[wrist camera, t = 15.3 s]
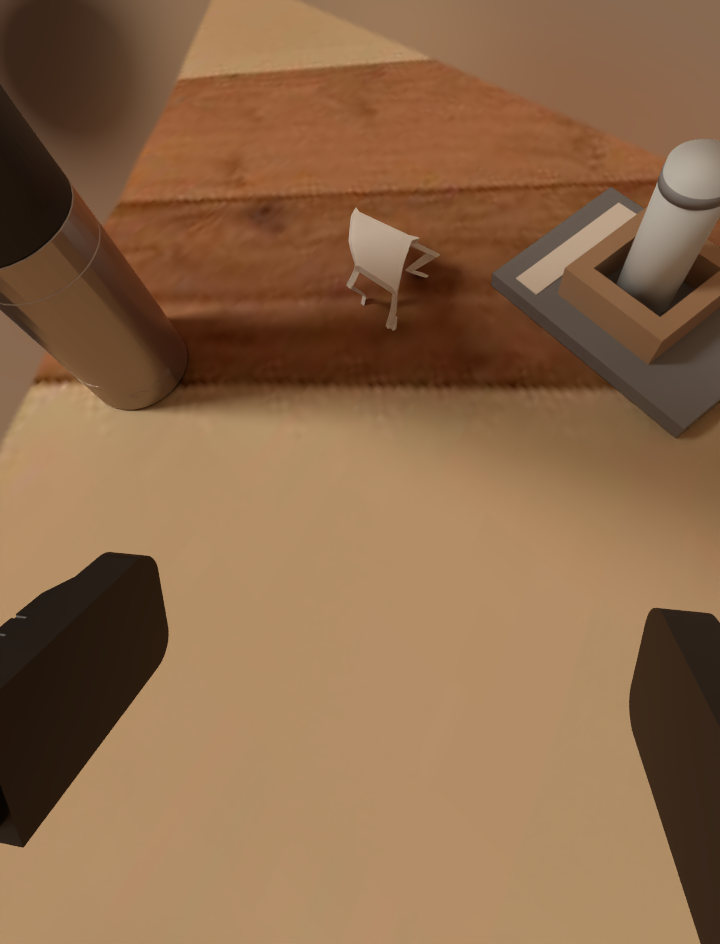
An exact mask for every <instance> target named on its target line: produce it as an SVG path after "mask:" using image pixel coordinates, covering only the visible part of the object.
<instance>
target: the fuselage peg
mask: <svg viewBox="0 0 720 944" xmlns="http://www.w3.org/2000/svg"><path fill="white" fill-rule="evenodd" d="M719 217H720V141H718V140H712V139H697V140H691V141H688V142H685V143H683V144H681V145H679V146H677V147H676V148H675V149H673V150H672V151H671V153H670V154H669V156H668V158H667V160H666V162H665V164H664V166H663V168H662V171H661V173H660V176H659V178H658V183H657V185H656V188H655V190H654V192H653V195H652V197H651V200H650V202H649V205H648V207H647V210H646V212H645V215H644V217H643V220H642V222H641V224H640V227H639V229H638V232H637V234H636V237H635V239H634V242H633V244H632V247H631V249H630V251H629V254H628V256H627V259H626V261H625V264H624V266H623V269H622V271H621V274H620V276H619V279H618V281H617V283H616V285H617V286H619V287H620V288H621V289H623V290H624V291H625V292H627V293H628V294H629V295H631V296H632V297H634V298H635V299H636V300H638V301H639V302H640V303H642V304H643V305H644V306H646V307H647V308H649V309H650V310H651V311H653V312H654V313H655V314H657V315H658V316H659V315H661V314H662V313H664V312H665V311H666V310H667V309H668V307H669V306H670V304H671V302H672V301H673V299H674V297H675V295H676V293H677V292H678V290H679V288H680V286H681V285H682V283H683V281H684V279H685V277H686V276H687V274H688V272H689V270H690V269H691V267H692V265H693V263H694V261H695V260H696V258H697V256H698V254H699V253H700V251H701V249H702V247H703V245H704V244H705V242H706V240H707V238H708V237H709V235H710V233H711V231H712V230H713V228H714V226H715V224H716V222H717V221H718V219H719Z"/></svg>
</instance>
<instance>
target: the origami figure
mask: <svg viewBox="0 0 720 944" xmlns="http://www.w3.org/2000/svg"><path fill="white" fill-rule="evenodd" d="M418 240H419V238H418V237H414V236H410V235H407V234H405V233H403V232H401V231H399V230H397V229H395V228H392V227H390V226H388V225H386V224H384V223H382V222H380V221H377V220H375V219H373V218H371V217H369V216H367V215H365V214H362V213H360V212H359V211H358V210H357V208H355V210H354V212H353V213H352V215H351V221H350V230H349V245H350V249H351V253H352V256H353V260H354V263H355V268H354V271H353V273H352V275H351V277H350V279H349V281H348V283H347V285H346V286H348V287H349V288H350V289H352V290H353V291H355V292H357V293H359V294H360V295H362V301H361V304H362V305H363V306H364V305H365V300H366V295H365V294H364V293H363V292H361V291H360V290H358V289H357V288H355V287H354V286H353V284H354V282H355V280H356V278H357V277H358V275H359V273H362V274H363V275H365V276H366V277H368V278H369V279H371V280H372V281H374V282H375V283H377V284H379V285H380V286H382V287H383V288H385V289H386V290H388V291H389V292H391V293H392V294H393V295H392V302H391V308H390V312H389V316H388V319H387V322H386V327H387V328H388V329H389V328H391V330H392V331H394V330H396V327H397V317H396V316H395V315H396V310H397V297H398V290H399V285H400V280H401V274H402V269H403V265H404V261H405V258H406V255H407V253H408V250H409V247H411V248H414V249H417V250H419V251H422V252H425V253H426V254H424V255H423V256H422V257H420V258H419V259H418V260H417V261H415V262H414V263H413V264H411V265H410V266H409V267H408V268H406V270H405V271H408V272H410V273H412V274H415V275H418V276H422V277H425V278H427V277H428V276H429V275H427V274H424V273H422V272H419V271H415V270H416V269H418V268H420V267H421V266H423V265H425V264H426V263H428V262H430V261H431V260H433V259H434V258H436V257H438V256H439V255H441V254H439V253H437V252H435V251H433V250H431V249H428V248H426V247H424V246H422V245H420V244H418V243H417V242H418Z"/></svg>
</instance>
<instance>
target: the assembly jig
mask: <svg viewBox="0 0 720 944" xmlns="http://www.w3.org/2000/svg"><path fill="white" fill-rule="evenodd" d="M647 207H648V206H647ZM647 207H646V208H645V209H644V208H642V207H641V206H639V205H638V204H636V203H635V202H633V201H632V200H630V199H628V198H627V197H625V196H624V195H622V194H621V193H619V192H618V191H616V190H615V189H613V188H612V187H610V188H609V189H607V190H606V191H605V192H603V193H602V194H601V195H599V196H598V197H596V198H595V199H594V200H592V201H591V202H590V203H588V204H587V205H586V206H584V207H583V208H581V209H580V210H579V211H577V212H576V213H575V214H573V215H572V216H570V217H569V218H568V219H566V220H565V221H564V222H562V223H561V224H559V225H558V226H557V227H555V228H554V229H553V230H551V231H550V232H549V233H547V234H546V235H544V236H543V237H542V238H540V239H539V240H538V241H536V242H535V243H533V244H532V245H531V246H529V247H528V248H527V249H525V250H524V251H522V252H521V253H520V254H518V255H517V256H516V257H514V258H513V259H512V260H510V261H509V262H507V263H506V264H505V265H503V266H502V267H501V268H499V269H498V270H496V271H495V272H494V273H493V274H492V283H491V286H493V287H494V288H495V289H496V290H497V291H499V292H500V293H501V294H502V295H503V296H505V297H506V298H507V299H508V300H509V301H511V302H512V303H513V304H514V305H516V306H517V307H518V308H519V309H520V310H522V311H523V312H524V313H525V314H526V315H528V316H529V317H530V318H531V319H532V320H534V321H535V322H536V323H537V324H538V325H540V326H541V327H542V328H543V329H544V330H546V331H547V332H548V333H549V334H551V335H552V336H553V337H554V338H555V339H557V340H558V341H559V342H560V343H561V344H563V345H564V346H565V347H566V348H567V349H569V350H570V351H571V352H572V353H573V354H575V355H576V356H577V357H578V358H580V359H581V360H582V361H583V362H584V363H586V364H587V365H588V366H589V367H590V368H592V369H593V370H594V371H595V372H596V373H598V374H599V375H600V376H601V377H602V378H604V379H605V380H606V381H607V382H609V383H610V384H611V385H612V386H613V387H615V388H616V389H617V390H618V391H619V392H621V393H622V394H623V395H624V396H625V397H627V398H628V399H629V400H630V401H631V402H633V403H634V404H635V405H636V406H637V407H639V408H640V409H641V410H642V411H644V412H645V413H646V414H647V415H648V416H650V417H651V418H652V419H653V420H654V421H656V422H657V423H658V424H659V425H660V426H662V427H663V428H664V429H665V430H666V431H668V432H669V433H670V434H671V435H673V436H674V437H675V438H677V437H678V436H679V435H680V434H682V433H683V432H684V431H685V430H686V429H688V428H689V427H690V426H691V425H692V424H694V423H695V422H696V421H697V420H698V419H700V418H701V417H702V416H703V415H704V414H706V413H707V412H708V411H709V410H710V409H712V408H713V407H714V406H715V405H717V404H718V403H719V402H720V247H718V246H717V245H715V244H714V243H712V242H711V241H709V240H706V242H705V244H704V245H703V247H702V249H701V251H700V253H699V254H698V256H697V258H696V260H695V261H694V263H693V265H692V267H691V269H690V270H689V272H688V274H687V276H686V277H685V279H684V281H683V283H682V285H681V286H680V288H679V290H678V292H677V293H676V295H675V297H674V299H673V301H672V302H671V304H670V306H669V307H668V309H667V310H666V311H665V312H664V313H662V314H661V315H659V316H658V315H657V314H655V313H654V312H653V311H651V310H650V309H649V308H647V307H646V306H644V305H643V304H642V303H640V302H639V301H638V300H636V299H635V298H634V297H632V296H631V295H629V294H628V293H627V292H625V291H624V290H623V289H621V288H620V287H619V286H617V285H616V283H617V281H618V279H619V276H620V274H621V271H622V269H623V266H624V264H625V261H626V259H627V256H628V254H629V251H630V249H631V247H632V244H633V242H634V239H635V237H636V234H637V232H638V229H639V227H640V224H641V222H642V220H643V217H644V215H645V212H646V210H647Z"/></svg>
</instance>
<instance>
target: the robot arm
mask: <svg viewBox="0 0 720 944" xmlns="http://www.w3.org/2000/svg"><path fill="white" fill-rule="evenodd" d="M0 310H1V311H2V312H3V313H4V314H5V315H7V316H8V317H9V318H10V319H11V320H12V321H13V322H14V323H15V324H17V325H18V326H19V327H20V328H21V329H22V330H23V331H24V332H26V333H27V334H28V335H29V336H30V337H31V338H32V339H33V340H35V341H36V342H37V343H38V344H39V345H40V346H41V347H42V348H44V349H45V350H46V351H47V352H48V353H49V354H50V355H51V356H53V357H54V358H55V359H56V360H57V361H58V362H59V363H60V364H62V365H63V366H64V367H65V368H66V369H67V370H68V371H69V372H71V373H72V374H73V375H74V376H75V377H76V378H77V379H78V380H79V381H81V382H82V383H83V384H84V385H85V386H86V387H87V388H89V389H90V390H91V391H92V392H93V393H94V394H95V395H97V396H98V397H99V398H100V399H101V400H102V401H103V402H105V403H106V404H108V405H110V406H112V407H114V408H118V409H122V410H133V409H139V408H144V407H146V406H149V405H152V404H154V403H156V402H157V401H159V400H161V399H163V398H164V397H165V396H166V395H167V394H169V393H170V392H171V391H172V390H173V389H174V388H175V387H176V385H177V384H178V383H179V381H180V380H181V378H182V376H183V374H184V372H185V369H186V366H187V358H188V354H187V347H186V345H185V343H184V340H183V339H182V338H181V336H180V335H179V333H178V332H177V331H176V329H175V328H174V326H173V325H172V324H171V322H170V321H169V319H168V318H167V317H166V315H165V314H164V312H163V311H162V309H161V308H160V306H159V305H158V304H157V302H156V301H155V299H154V298H153V297H152V295H151V294H150V292H149V291H148V290H147V288H146V287H145V285H144V284H143V283H142V281H141V280H140V278H139V277H138V276H137V274H136V273H135V271H134V270H133V269H132V267H131V266H130V264H129V263H128V262H127V260H126V259H125V257H124V256H123V255H122V253H121V252H120V250H119V249H118V248H117V246H116V245H115V243H114V242H113V241H112V239H111V238H110V236H109V235H108V234H107V232H106V231H105V229H104V228H103V227H102V225H101V224H100V223H99V221H98V220H97V218H96V217H95V215H93V213H92V212H91V210H90V209H89V207H88V206H87V205H86V203H85V202H84V201H83V199H82V198H81V197H80V195H79V194H78V192H77V191H76V190H75V188H74V187H73V185H72V184H71V182H70V181H69V180H68V178H67V177H66V175H65V174H64V173H63V171H62V170H61V169H60V167H59V166H58V165H57V163H56V162H55V161H54V159H53V158H52V156H51V155H50V154H49V152H48V151H47V149H46V148H45V147H44V145H43V144H42V142H41V141H40V140H39V138H38V137H37V136H36V134H35V133H34V131H33V130H32V128H31V127H30V126H29V124H28V123H27V122H26V120H25V119H24V117H23V116H22V114H21V113H20V112H19V110H18V109H17V107H16V106H15V104H14V103H13V102H12V100H11V99H10V97H9V96H8V95H7V93H6V92H5V91H4V89H3V87H2V86H1V85H0ZM167 644H168V624H167V618H166V612H165V607H164V601H163V595H162V589H161V584H160V578H159V572H158V567H157V564H156V562H155V560H154V559H153V558H152V557H150V556H144V555H134V554H124V553H114V552H107V553H104V554H102V555H101V556H99V557H98V558H97V559H96V560H95V561H93V562H92V563H91V564H90V565H89V566H87V567H86V568H85V569H84V570H83V571H81V572H80V573H79V574H78V575H77V576H75V577H73V578H71V579H69V580H67V581H65V582H63V583H61V584H59V585H57V586H55V587H53V588H51V589H49V590H47V591H45V592H44V593H42V594H40V595H39V596H38V597H37V598H35V599H34V600H33V601H32V602H30V603H29V604H28V605H27V606H25V607H24V608H23V609H22V610H21V611H19V612H18V613H17V614H16V618H15V619H14V618H11V619H9V620H8V621H7V622H6V623H4V624H3V625H2V626H1V627H0V843H4V844H9V845H13V846H18V847H24V846H25V845H26V843H27V842H28V841H29V839H30V838H31V837H32V835H33V834H34V833H35V831H36V830H37V829H38V827H39V826H40V825H41V823H42V822H43V821H44V819H45V818H46V817H47V815H48V814H49V813H50V811H51V810H52V809H53V807H54V806H55V805H56V803H57V802H58V801H59V799H60V798H61V797H62V795H63V794H64V793H65V791H66V790H67V789H68V787H69V786H70V784H71V783H72V782H73V780H74V779H75V778H76V776H77V775H78V774H79V772H80V771H81V770H82V768H83V767H84V766H85V764H86V763H87V762H88V760H89V759H90V758H91V756H92V755H93V754H94V752H95V751H96V750H97V748H98V747H99V746H100V744H101V743H102V742H103V740H104V739H105V738H106V736H107V735H108V734H109V732H110V731H111V730H112V728H113V727H114V726H115V724H116V723H117V721H118V720H119V719H120V717H121V716H122V715H123V713H124V712H125V711H126V709H127V708H128V707H129V705H130V704H131V703H132V701H133V700H134V699H135V697H136V696H137V695H138V693H139V692H140V691H141V689H142V688H143V687H144V685H145V684H146V683H147V681H148V680H149V679H150V677H151V676H152V675H153V673H154V672H155V671H156V669H157V668H158V666H159V665H160V663H161V661H162V659H163V657H164V655H165V652H166V648H167ZM629 711H630V721H631V727H632V731H633V735H634V738H635V741H636V744H637V747H638V750H639V754H640V757H641V760H642V763H643V766H644V769H645V772H646V775H647V778H648V781H649V785H650V788H651V791H652V794H653V797H654V800H655V803H656V806H657V809H658V812H659V816H660V819H661V822H662V825H663V828H664V831H665V834H666V837H667V840H668V844H669V847H670V850H671V853H672V856H673V859H674V862H675V865H676V868H677V871H678V875H679V878H680V881H681V884H682V887H683V890H684V893H685V896H686V899H687V902H688V906H689V909H690V912H691V915H692V918H693V921H694V924H695V927H696V930H697V934H698V937H699V940H700V943H701V944H720V623H719V621H718V620H717V619H716V617H715V616H713V615H712V614H710V613H701V612H691V611H681V610H671V609H661V608H653V609H652V610H651V611H650V612H649V614H648V616H647V619H646V623H645V627H644V632H643V636H642V640H641V645H640V649H639V653H638V658H637V662H636V666H635V671H634V675H633V679H632V684H631V689H630V697H629Z"/></svg>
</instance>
